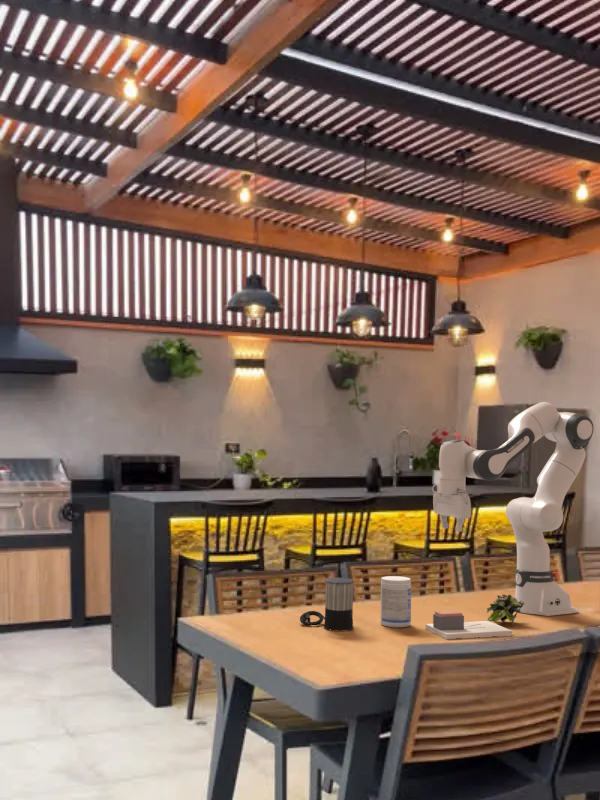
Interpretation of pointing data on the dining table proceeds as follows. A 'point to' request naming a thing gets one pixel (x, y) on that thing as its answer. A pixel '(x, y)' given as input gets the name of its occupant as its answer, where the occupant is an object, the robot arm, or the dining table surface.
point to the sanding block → (448, 620)
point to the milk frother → (335, 606)
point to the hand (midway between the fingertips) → (451, 529)
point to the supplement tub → (395, 601)
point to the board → (472, 630)
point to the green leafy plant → (504, 608)
